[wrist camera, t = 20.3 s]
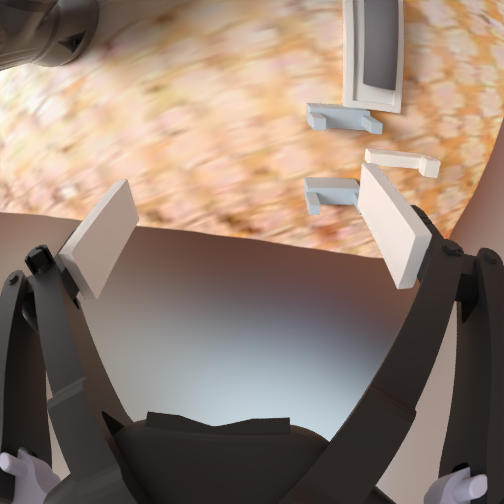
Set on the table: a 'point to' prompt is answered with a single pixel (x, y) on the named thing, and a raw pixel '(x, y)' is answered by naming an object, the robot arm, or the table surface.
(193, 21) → the table surface
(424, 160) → the white l-shaped hook
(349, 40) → the tray
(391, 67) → the gray cylinder
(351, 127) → the cradle
